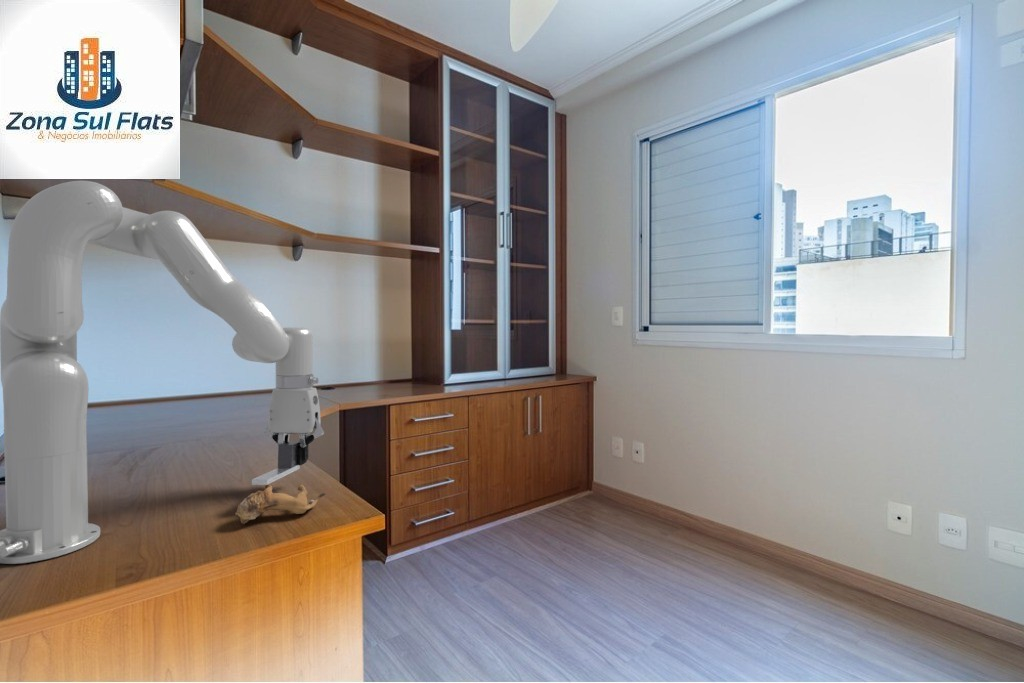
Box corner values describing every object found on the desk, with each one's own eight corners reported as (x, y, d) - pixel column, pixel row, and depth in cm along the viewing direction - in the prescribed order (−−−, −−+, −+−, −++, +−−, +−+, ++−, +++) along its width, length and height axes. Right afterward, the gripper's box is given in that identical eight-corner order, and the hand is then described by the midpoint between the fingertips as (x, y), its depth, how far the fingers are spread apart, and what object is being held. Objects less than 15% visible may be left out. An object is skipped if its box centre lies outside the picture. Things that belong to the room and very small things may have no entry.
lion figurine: (245, 510, 93) (233, 530, 84) (245, 483, 93) (233, 500, 84) (325, 504, 97) (321, 522, 89) (326, 478, 97) (322, 494, 88)
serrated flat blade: (286, 468, 106) (287, 441, 107) (299, 468, 106) (300, 441, 107) (251, 484, 92) (252, 453, 93) (267, 484, 92) (268, 453, 93)
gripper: (336, 381, 110) (336, 459, 111) (267, 379, 110) (267, 458, 111) (323, 385, 102) (323, 469, 103) (248, 384, 103) (249, 467, 103)
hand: (294, 462), depth 107 cm, fingers closed on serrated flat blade, 3 cm apart
